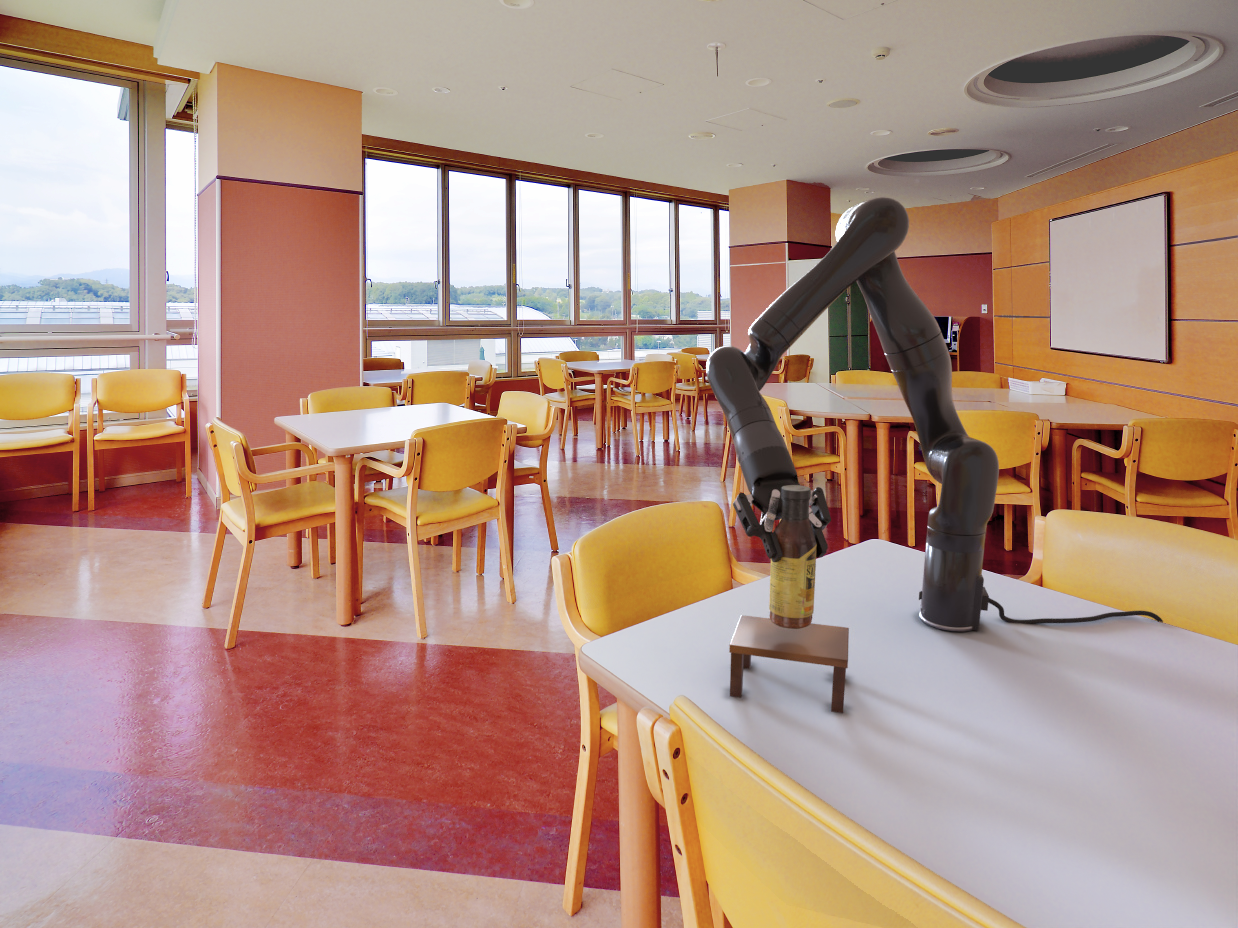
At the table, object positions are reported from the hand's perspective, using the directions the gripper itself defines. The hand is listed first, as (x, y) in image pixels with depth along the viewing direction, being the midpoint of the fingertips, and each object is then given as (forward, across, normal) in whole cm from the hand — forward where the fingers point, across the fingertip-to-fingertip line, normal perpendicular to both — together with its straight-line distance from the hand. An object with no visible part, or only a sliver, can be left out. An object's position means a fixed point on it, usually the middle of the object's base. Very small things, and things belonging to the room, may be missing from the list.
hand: (800, 557), depth 102 cm
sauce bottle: (+6, 0, +9) cm, 11 cm away
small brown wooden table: (+13, 0, +16) cm, 21 cm away
